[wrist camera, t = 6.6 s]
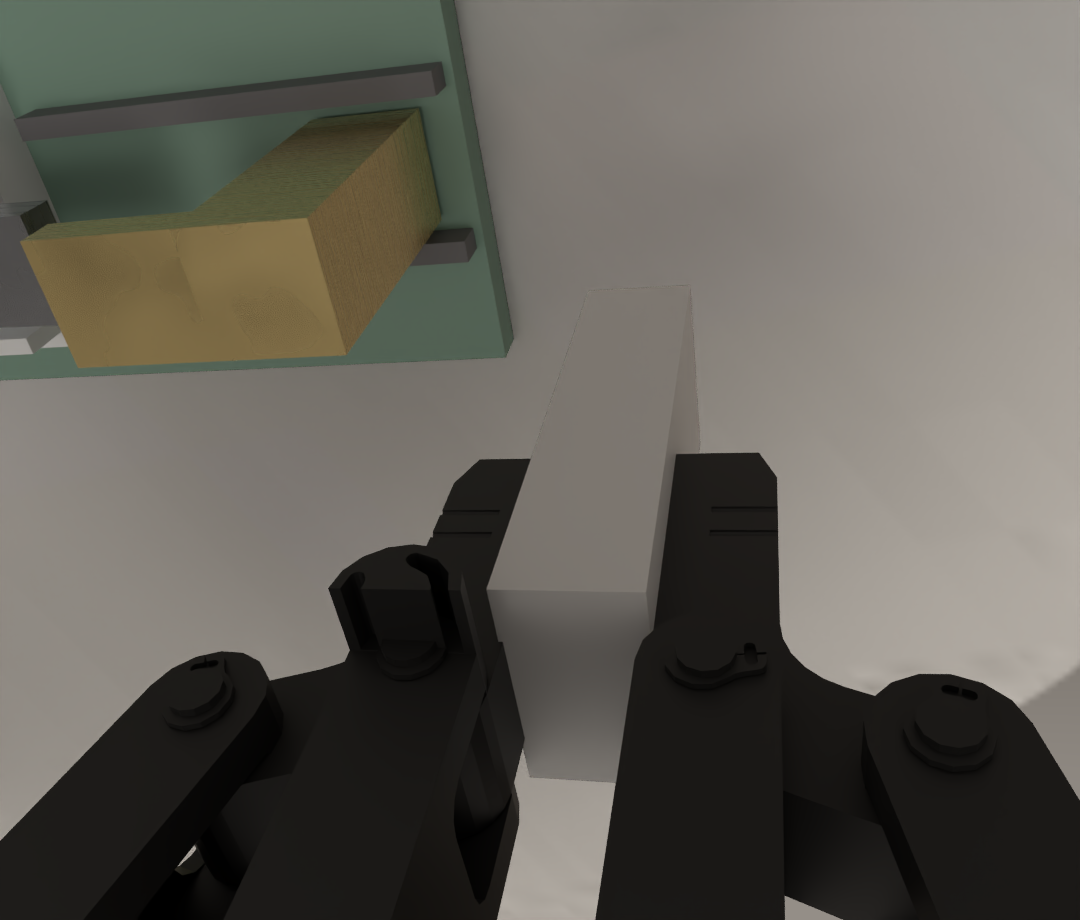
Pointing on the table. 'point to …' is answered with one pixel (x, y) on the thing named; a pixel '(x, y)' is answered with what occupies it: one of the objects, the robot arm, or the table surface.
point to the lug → (251, 254)
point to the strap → (22, 266)
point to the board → (243, 141)
